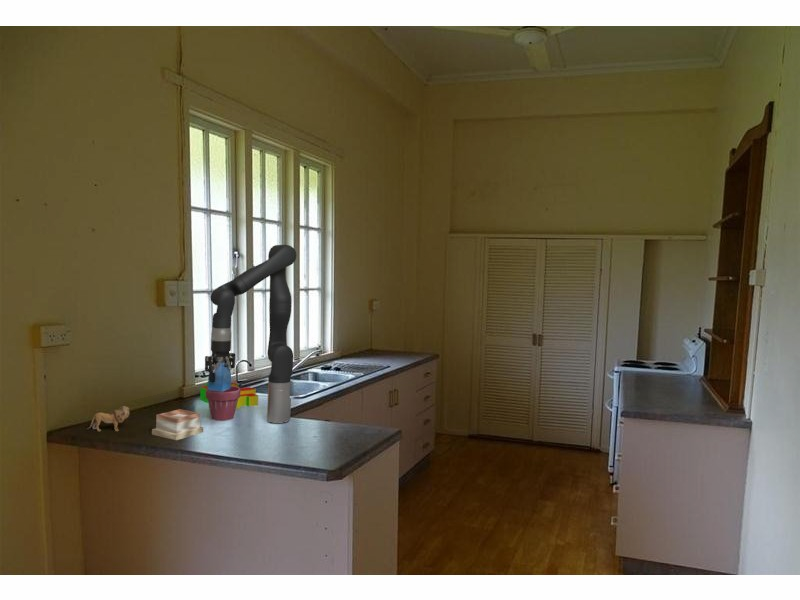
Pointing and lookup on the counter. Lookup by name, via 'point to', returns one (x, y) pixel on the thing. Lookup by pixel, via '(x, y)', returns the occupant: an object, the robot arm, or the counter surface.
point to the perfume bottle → (221, 379)
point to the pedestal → (177, 424)
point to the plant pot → (223, 403)
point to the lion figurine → (110, 418)
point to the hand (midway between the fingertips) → (219, 380)
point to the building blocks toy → (246, 398)
